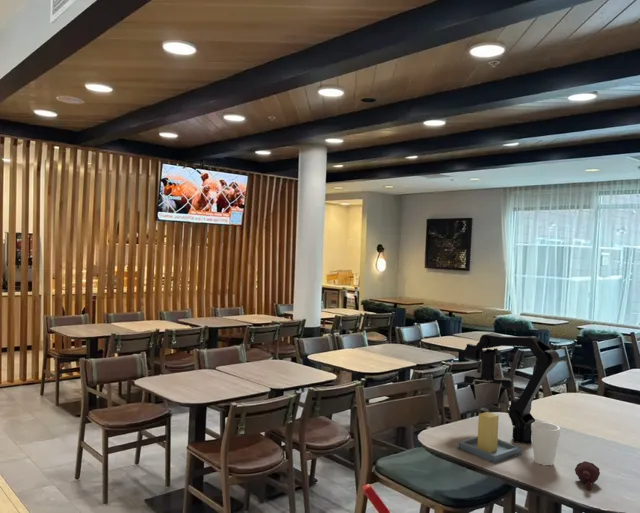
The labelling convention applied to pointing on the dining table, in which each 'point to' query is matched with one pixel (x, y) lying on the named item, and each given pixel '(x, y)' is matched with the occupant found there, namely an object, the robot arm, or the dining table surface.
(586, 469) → the icecream
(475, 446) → the tray
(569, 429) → the dining table surface
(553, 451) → the foam cup
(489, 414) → the block
